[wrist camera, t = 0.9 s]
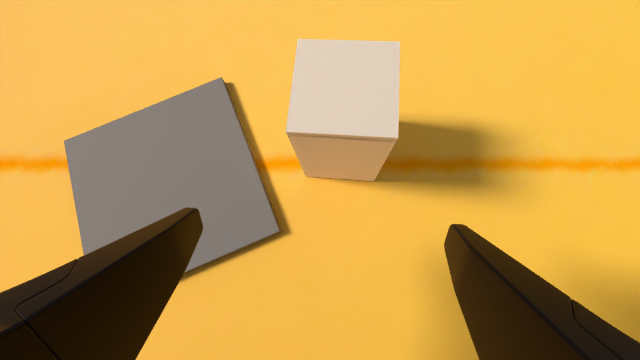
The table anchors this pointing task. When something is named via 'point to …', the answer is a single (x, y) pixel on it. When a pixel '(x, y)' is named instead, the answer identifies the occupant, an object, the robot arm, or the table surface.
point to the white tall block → (344, 107)
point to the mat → (171, 174)
